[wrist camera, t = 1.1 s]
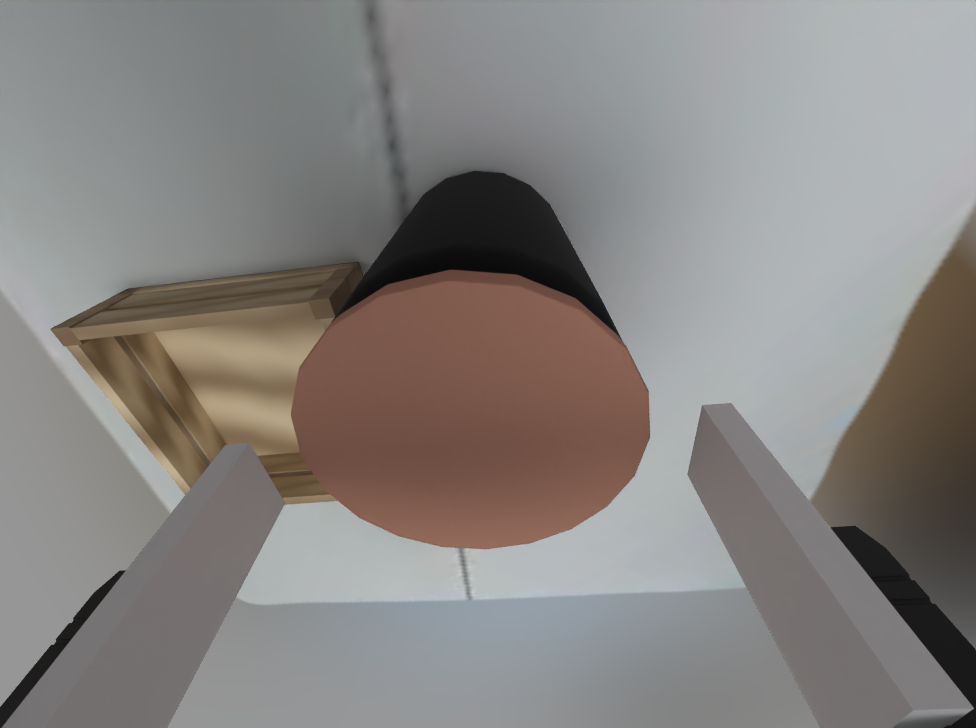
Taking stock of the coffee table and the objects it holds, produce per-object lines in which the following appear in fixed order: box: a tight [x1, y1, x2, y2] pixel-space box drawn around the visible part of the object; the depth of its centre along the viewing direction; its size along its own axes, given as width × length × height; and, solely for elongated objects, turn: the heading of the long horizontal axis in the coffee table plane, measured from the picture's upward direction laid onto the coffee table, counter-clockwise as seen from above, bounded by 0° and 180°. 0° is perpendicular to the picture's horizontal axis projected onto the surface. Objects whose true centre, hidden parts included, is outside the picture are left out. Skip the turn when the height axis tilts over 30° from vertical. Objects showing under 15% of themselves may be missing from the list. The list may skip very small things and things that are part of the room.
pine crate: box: [51, 262, 363, 505], centre depth 30 cm, size 17×17×6 cm
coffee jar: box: [291, 171, 650, 549], centre depth 20 cm, size 11×11×18 cm
